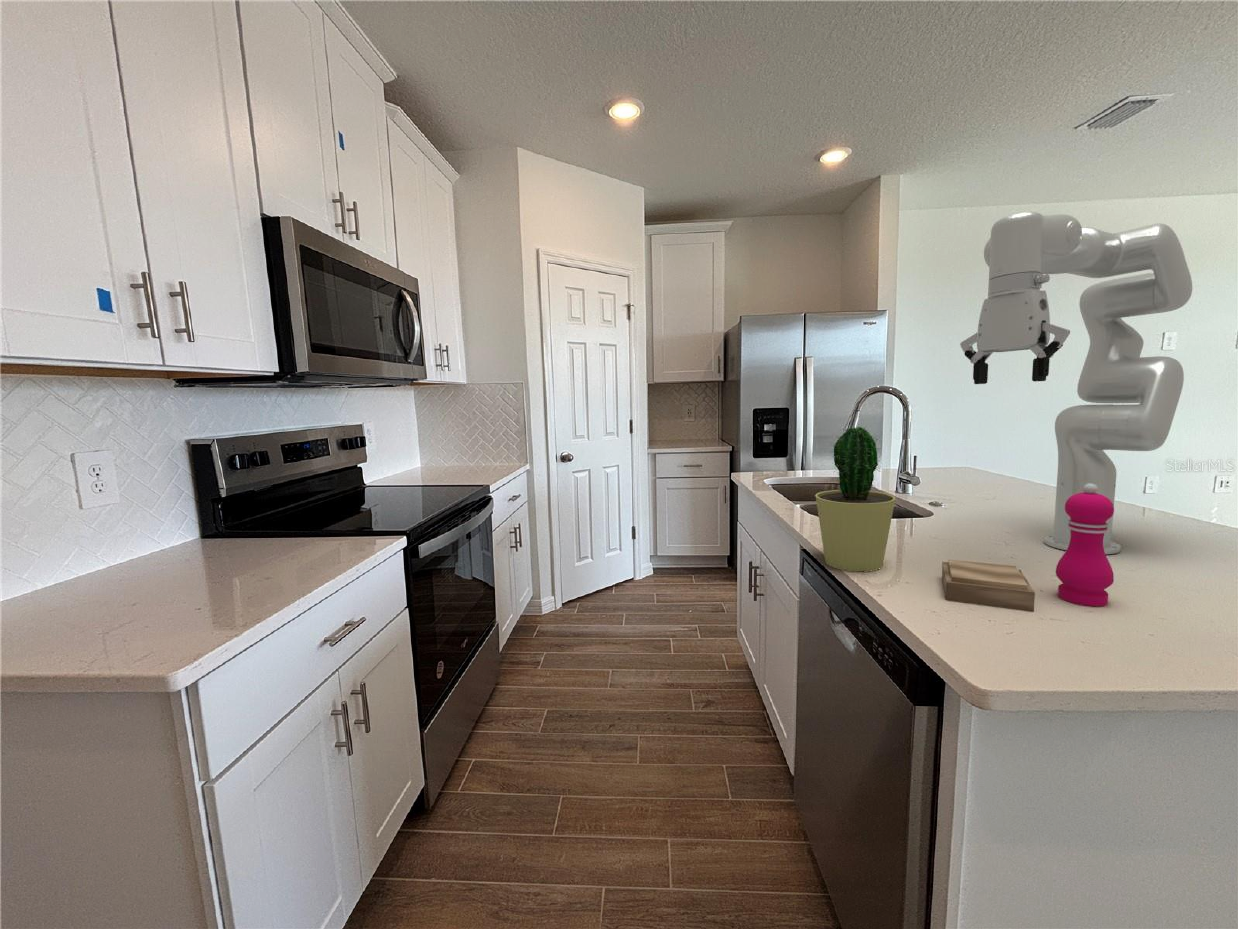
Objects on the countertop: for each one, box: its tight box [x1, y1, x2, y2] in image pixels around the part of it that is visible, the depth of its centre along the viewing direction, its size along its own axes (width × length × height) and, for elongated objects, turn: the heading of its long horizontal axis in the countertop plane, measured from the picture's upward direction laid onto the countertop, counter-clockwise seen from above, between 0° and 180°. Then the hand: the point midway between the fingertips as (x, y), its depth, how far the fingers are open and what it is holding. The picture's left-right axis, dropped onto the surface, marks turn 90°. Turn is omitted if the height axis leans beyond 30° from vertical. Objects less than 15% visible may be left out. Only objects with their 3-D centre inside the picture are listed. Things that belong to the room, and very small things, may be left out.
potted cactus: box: [814, 426, 896, 573], centre depth 107 cm, size 15×15×30 cm
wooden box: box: [941, 559, 1036, 612], centre depth 90 cm, size 12×12×4 cm
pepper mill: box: [1055, 484, 1115, 607], centre depth 84 cm, size 7×7×20 cm
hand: (1008, 382), depth 94 cm, fingers open, 9 cm apart
